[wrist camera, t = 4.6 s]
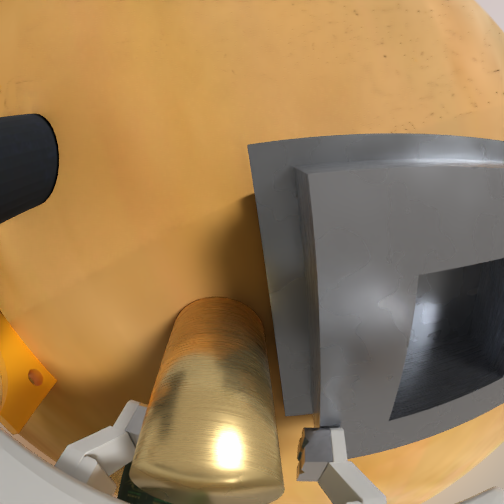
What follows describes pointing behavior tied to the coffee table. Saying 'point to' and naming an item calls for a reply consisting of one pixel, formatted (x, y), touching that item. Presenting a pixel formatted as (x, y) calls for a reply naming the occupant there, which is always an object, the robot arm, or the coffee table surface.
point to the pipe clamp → (20, 379)
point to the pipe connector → (26, 163)
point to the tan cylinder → (211, 412)
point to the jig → (385, 280)
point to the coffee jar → (135, 491)
